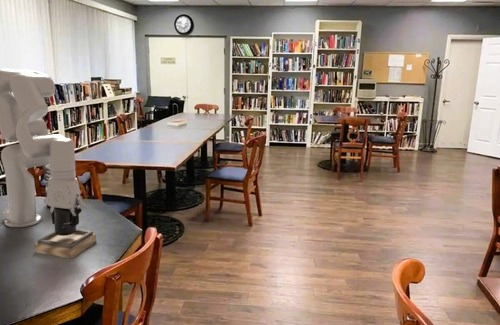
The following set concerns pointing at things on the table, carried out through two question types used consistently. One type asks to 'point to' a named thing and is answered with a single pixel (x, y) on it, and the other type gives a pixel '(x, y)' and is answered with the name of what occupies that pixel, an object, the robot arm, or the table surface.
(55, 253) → the wooden tray
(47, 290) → the table surface
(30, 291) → the table surface
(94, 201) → the table surface
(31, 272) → the table surface
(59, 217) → the supplement bottle
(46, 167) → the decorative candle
